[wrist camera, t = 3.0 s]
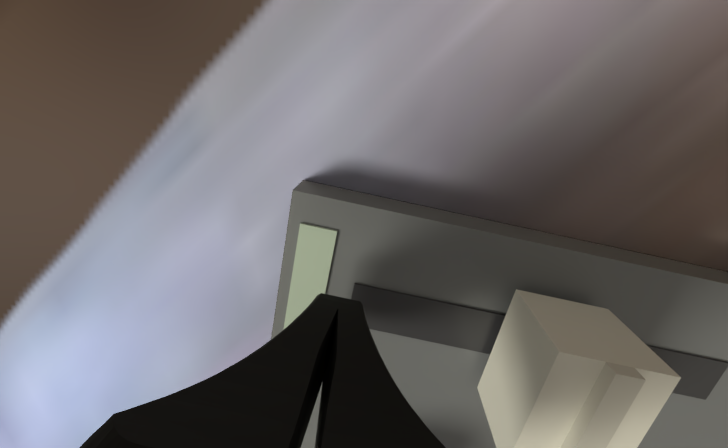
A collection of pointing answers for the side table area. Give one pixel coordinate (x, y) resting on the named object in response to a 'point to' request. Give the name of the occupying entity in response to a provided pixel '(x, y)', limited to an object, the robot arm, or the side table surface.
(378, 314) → the panel
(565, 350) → the block
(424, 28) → the side table surface
